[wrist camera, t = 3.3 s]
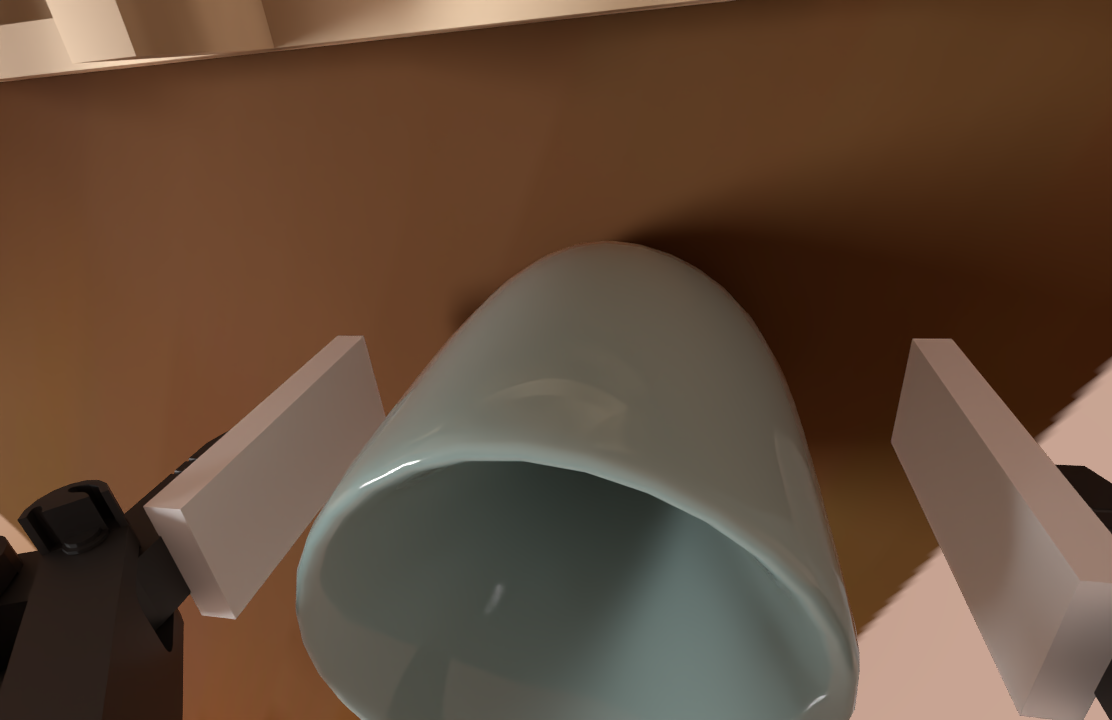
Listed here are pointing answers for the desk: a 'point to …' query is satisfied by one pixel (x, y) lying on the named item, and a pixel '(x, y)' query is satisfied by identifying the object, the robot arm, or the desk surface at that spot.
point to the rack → (246, 27)
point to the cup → (586, 518)
